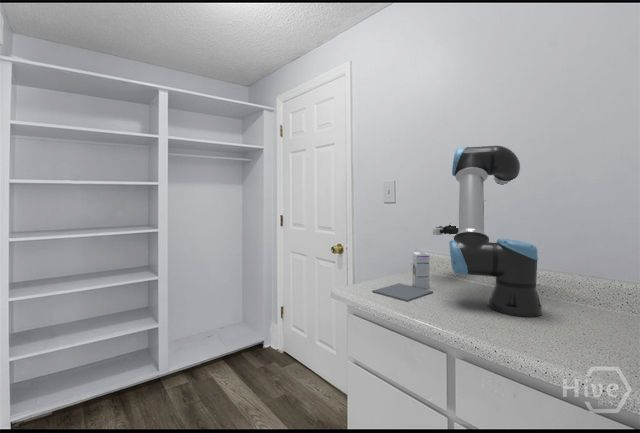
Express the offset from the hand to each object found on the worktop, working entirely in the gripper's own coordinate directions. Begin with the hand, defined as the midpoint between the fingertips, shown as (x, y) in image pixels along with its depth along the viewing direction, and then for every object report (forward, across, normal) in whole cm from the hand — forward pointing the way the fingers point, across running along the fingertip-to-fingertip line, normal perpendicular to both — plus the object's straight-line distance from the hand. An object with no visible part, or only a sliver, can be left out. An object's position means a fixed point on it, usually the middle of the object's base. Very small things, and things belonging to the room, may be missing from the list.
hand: (434, 231), depth 142 cm
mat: (+24, 0, -23) cm, 33 cm away
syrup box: (+11, 0, -23) cm, 25 cm away
